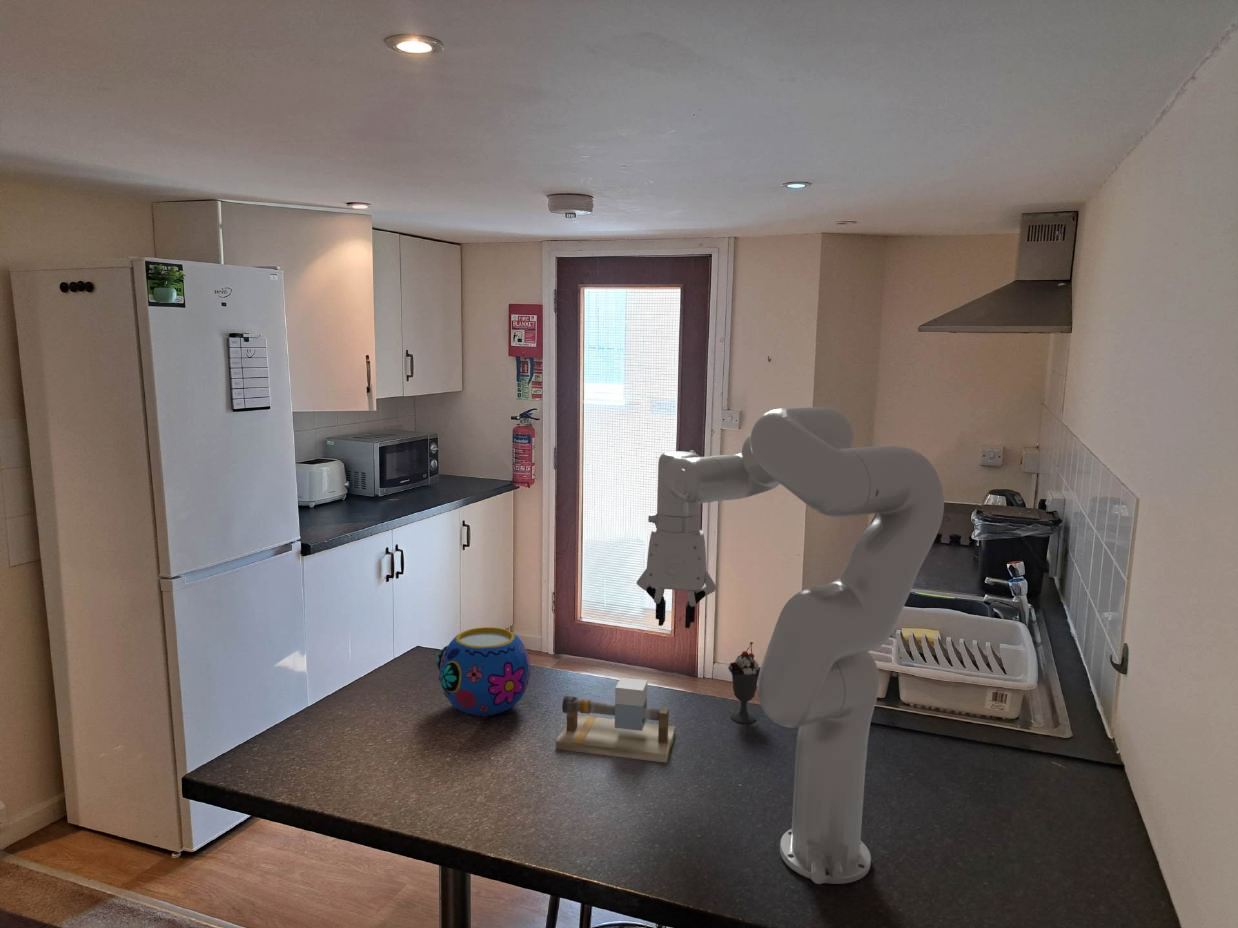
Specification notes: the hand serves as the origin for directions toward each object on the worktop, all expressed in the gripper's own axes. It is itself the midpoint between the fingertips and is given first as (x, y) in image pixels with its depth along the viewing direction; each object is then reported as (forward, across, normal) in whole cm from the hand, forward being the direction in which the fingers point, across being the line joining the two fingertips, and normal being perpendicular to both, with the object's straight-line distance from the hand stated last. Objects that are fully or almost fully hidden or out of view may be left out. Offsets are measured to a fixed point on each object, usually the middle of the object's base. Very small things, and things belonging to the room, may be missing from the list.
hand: (675, 623), depth 144 cm
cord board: (+23, -10, 0) cm, 25 cm away
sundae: (+24, +12, +16) cm, 31 cm away
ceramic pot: (+24, -38, +6) cm, 45 cm away
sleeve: (+20, -7, 0) cm, 21 cm away
